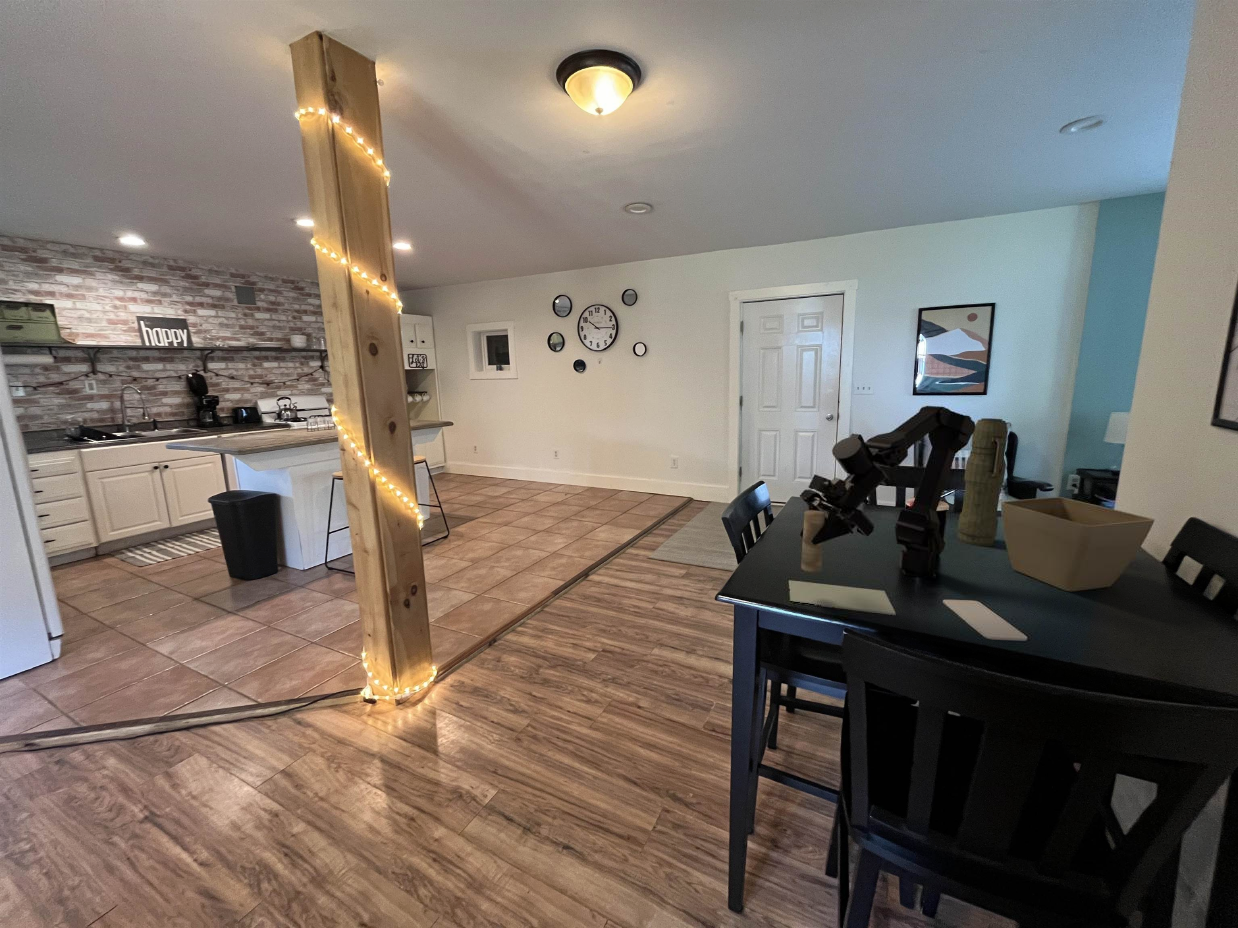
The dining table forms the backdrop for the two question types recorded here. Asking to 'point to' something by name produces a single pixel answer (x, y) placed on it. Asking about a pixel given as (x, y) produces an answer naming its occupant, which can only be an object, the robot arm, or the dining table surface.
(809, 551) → the maple post
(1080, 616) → the dining table surface
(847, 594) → the sage mat
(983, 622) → the smartphone
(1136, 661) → the dining table surface
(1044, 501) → the flower pot
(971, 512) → the thermos
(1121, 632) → the dining table surface
